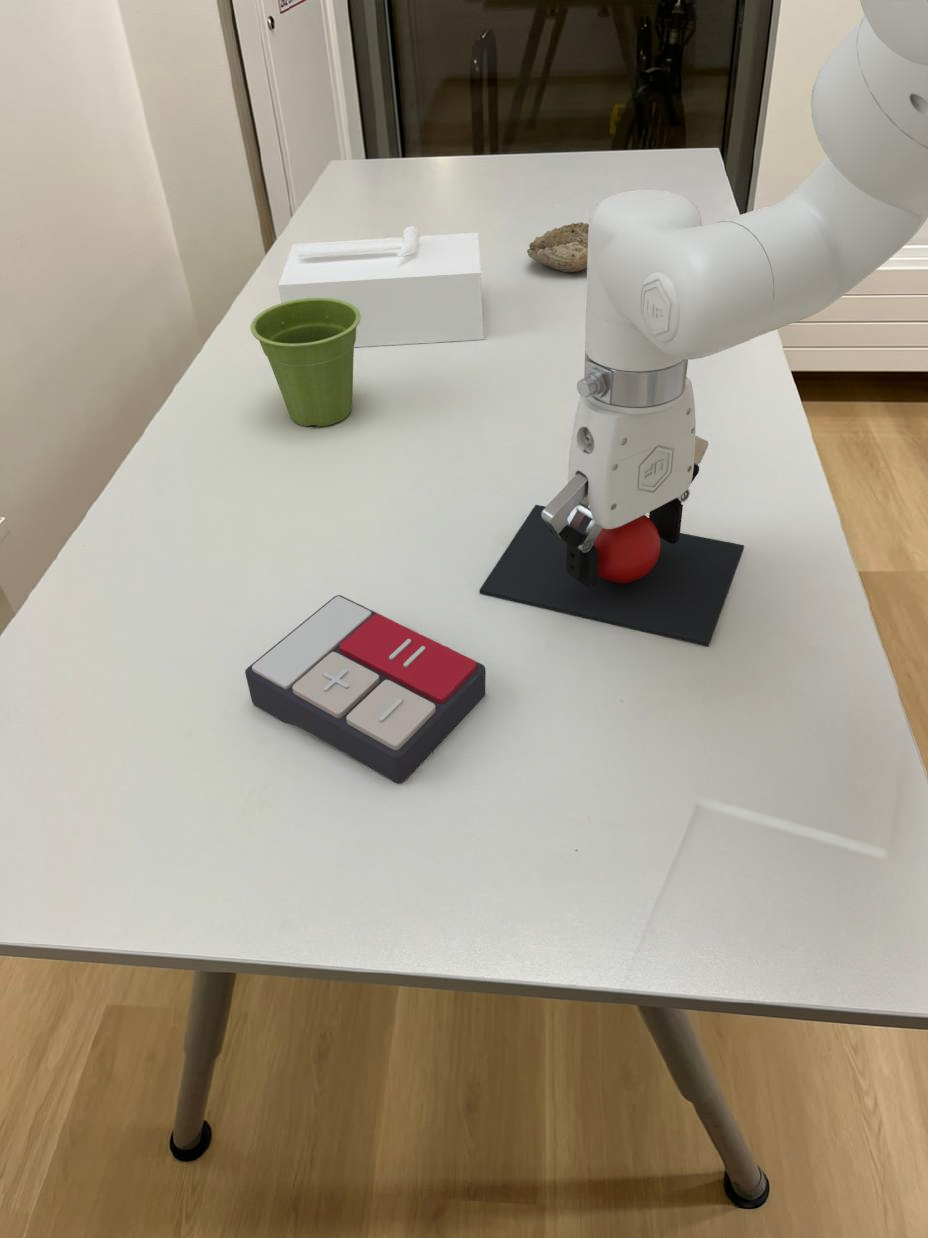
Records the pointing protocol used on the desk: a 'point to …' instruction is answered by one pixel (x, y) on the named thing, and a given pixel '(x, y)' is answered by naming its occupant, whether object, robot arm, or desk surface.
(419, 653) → the calculator
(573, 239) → the tan rough lump
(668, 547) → the side mat
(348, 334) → the plant pot
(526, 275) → the desk surface
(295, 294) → the tissue box
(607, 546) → the red ball
